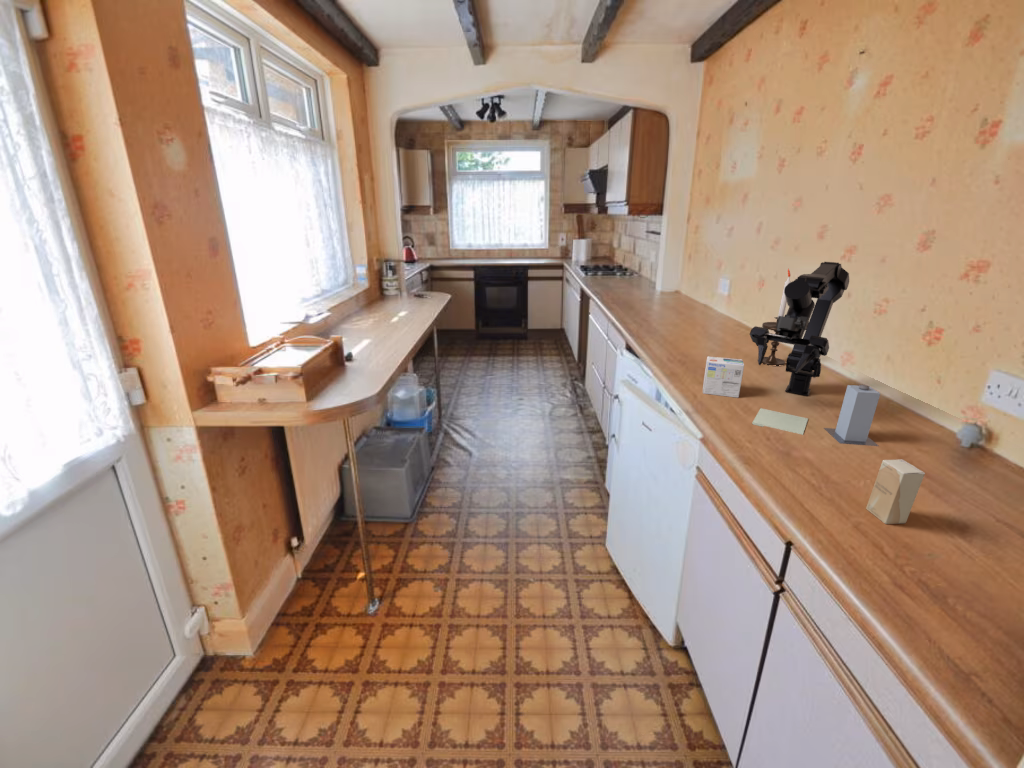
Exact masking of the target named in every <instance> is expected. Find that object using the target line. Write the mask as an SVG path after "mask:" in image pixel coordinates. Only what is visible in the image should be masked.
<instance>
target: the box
mask: <svg viewBox="0 0 1024 768" xmlns="http://www.w3.org/2000/svg"><path fill="white" fill-rule="evenodd" d="M925 474H926V473H925V472H924V471H923V470H921V469H919V468H917V467H916V466H915V465H913V464H911V463H909V462H907V461H906V460H904V459H901V458H900V459H899V458H898V459H883V460H882V461H881V464H880V467H879V470H878V472H877V476H876V478H875V481H874V485H873V487H872V490H871V493H870V496H869V498H868V501H867V505H866V507H865V509H866V510H867V511H868V512H870V514H872V515H874V517H876V518H877V519H878V520H879V521H881V522H882V523H884V524H885V525H895V524H896V525H897V524H906V523H907V521H908V518H909V516H910V513H911V511H912V508H913V505H914V504H915V501H916V498H917V495H918V492H919V490H920V487H921V484H922V483H923V479H924V478H925Z"/></svg>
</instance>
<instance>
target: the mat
mask: <svg viewBox="0 0 1024 768" xmlns="http://www.w3.org/2000/svg"><path fill="white" fill-rule="evenodd" d="M808 420H809V418H807V417H804V416H798V415H793V414H788V413H784V412H779V411H775V410H770V409H766V408H762V407H760V409H759V410H758V412H757V413H756V416H755V417H754V419H753V421H752V422H751V424H752V425H754V426H758V427H763V428H765V427H767V428H772V429H777V430H781V431H784V432H785V431H786V432H789V433H792V434H793V433H794V434H798V435H802V436H804V432H805V429H806V426H807V425H808Z"/></svg>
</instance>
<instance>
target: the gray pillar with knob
mask: <svg viewBox="0 0 1024 768" xmlns="http://www.w3.org/2000/svg"><path fill="white" fill-rule="evenodd" d="M880 397H881V393H880V391H877V390H876V389H874V388H873V387H872V386H870V385H866V384H859V385H853V384H851V385H850V384H847V386H846V391H845V394H844V397H843V400H842V406H841V408H840V412H839V415H838V418H837V419H838V420H837V424H836V427H835V429H836V430H835V432H836V433H837V434H838V435H839V436H840V437H841V438H843V439H844V440H848V441H862V442H866V440H867V437H869V433H870V430H871V428H872V427H871V426H872V424H873V421H874V416H875V413H876V409H877V406H878V403H879V400H880Z"/></svg>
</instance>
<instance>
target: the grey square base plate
mask: <svg viewBox="0 0 1024 768" xmlns="http://www.w3.org/2000/svg"><path fill="white" fill-rule="evenodd" d="M823 429H824V431H826V432H827V433H828V434H829V435H830V436H831V437H832V438H834V440H836V442H838V444H843V445H853V446H854V445H856V446H857V445H858V446H868V447H869V446H870V447H880V446H879V445H878V443H876V442H875V441H874V440H872V439H871V438H870V437H869V436H868V437H867V440H866V442H862V441H848V440H844V439H843V438H841V437H840V436H839V435H838V434H837V433H836V432H835V430H836V428H832V427H831V428H830V427H823Z"/></svg>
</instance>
